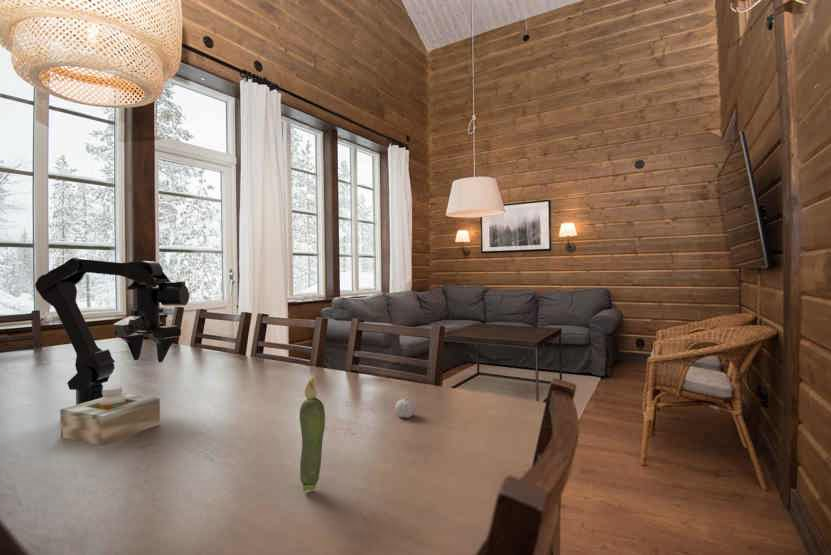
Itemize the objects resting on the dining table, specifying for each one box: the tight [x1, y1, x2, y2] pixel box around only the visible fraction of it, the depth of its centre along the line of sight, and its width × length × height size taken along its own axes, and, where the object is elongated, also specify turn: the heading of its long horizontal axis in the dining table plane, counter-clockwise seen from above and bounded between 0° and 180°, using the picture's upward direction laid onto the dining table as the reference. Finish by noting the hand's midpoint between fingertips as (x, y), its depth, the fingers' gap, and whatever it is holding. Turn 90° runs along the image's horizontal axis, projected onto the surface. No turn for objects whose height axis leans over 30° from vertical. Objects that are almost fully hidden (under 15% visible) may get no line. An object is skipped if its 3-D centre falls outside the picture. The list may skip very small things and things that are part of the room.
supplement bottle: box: [99, 385, 126, 410], centre depth 104 cm, size 5×5×10 cm
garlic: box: [394, 397, 416, 419], centre depth 114 cm, size 6×5×5 cm
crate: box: [59, 392, 161, 446], centre depth 104 cm, size 14×14×6 cm
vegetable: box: [299, 378, 326, 492], centre depth 76 cm, size 4×4×20 cm
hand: (148, 361), depth 121 cm, fingers open, 9 cm apart
